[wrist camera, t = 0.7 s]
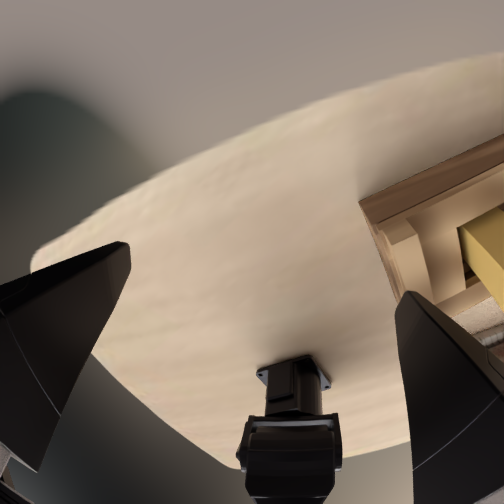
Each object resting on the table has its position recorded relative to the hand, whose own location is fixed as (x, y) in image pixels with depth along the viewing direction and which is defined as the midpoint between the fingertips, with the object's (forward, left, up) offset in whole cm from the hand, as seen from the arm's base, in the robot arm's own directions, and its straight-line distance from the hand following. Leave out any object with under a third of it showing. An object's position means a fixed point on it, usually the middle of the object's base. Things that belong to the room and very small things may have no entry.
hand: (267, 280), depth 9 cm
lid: (-10, -11, -9) cm, 17 cm away
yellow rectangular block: (-10, -12, -12) cm, 20 cm away
